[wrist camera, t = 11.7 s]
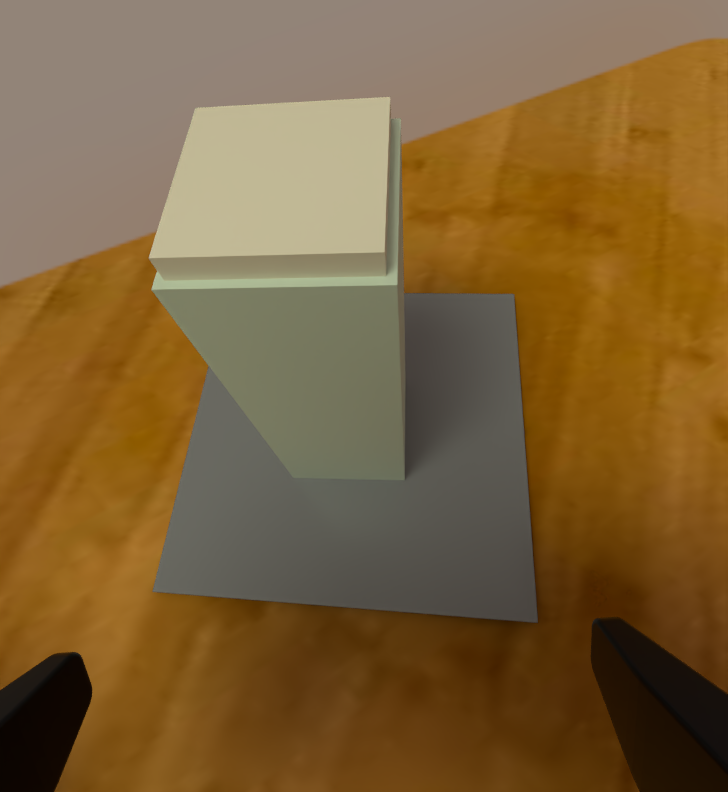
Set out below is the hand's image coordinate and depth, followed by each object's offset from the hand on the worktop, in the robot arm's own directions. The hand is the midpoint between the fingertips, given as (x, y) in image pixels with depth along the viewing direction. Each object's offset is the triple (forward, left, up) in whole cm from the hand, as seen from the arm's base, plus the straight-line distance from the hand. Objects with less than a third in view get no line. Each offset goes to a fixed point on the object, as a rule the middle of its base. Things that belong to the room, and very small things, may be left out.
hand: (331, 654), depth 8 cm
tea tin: (+8, +1, -9) cm, 12 cm away
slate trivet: (+8, +1, -10) cm, 13 cm away
